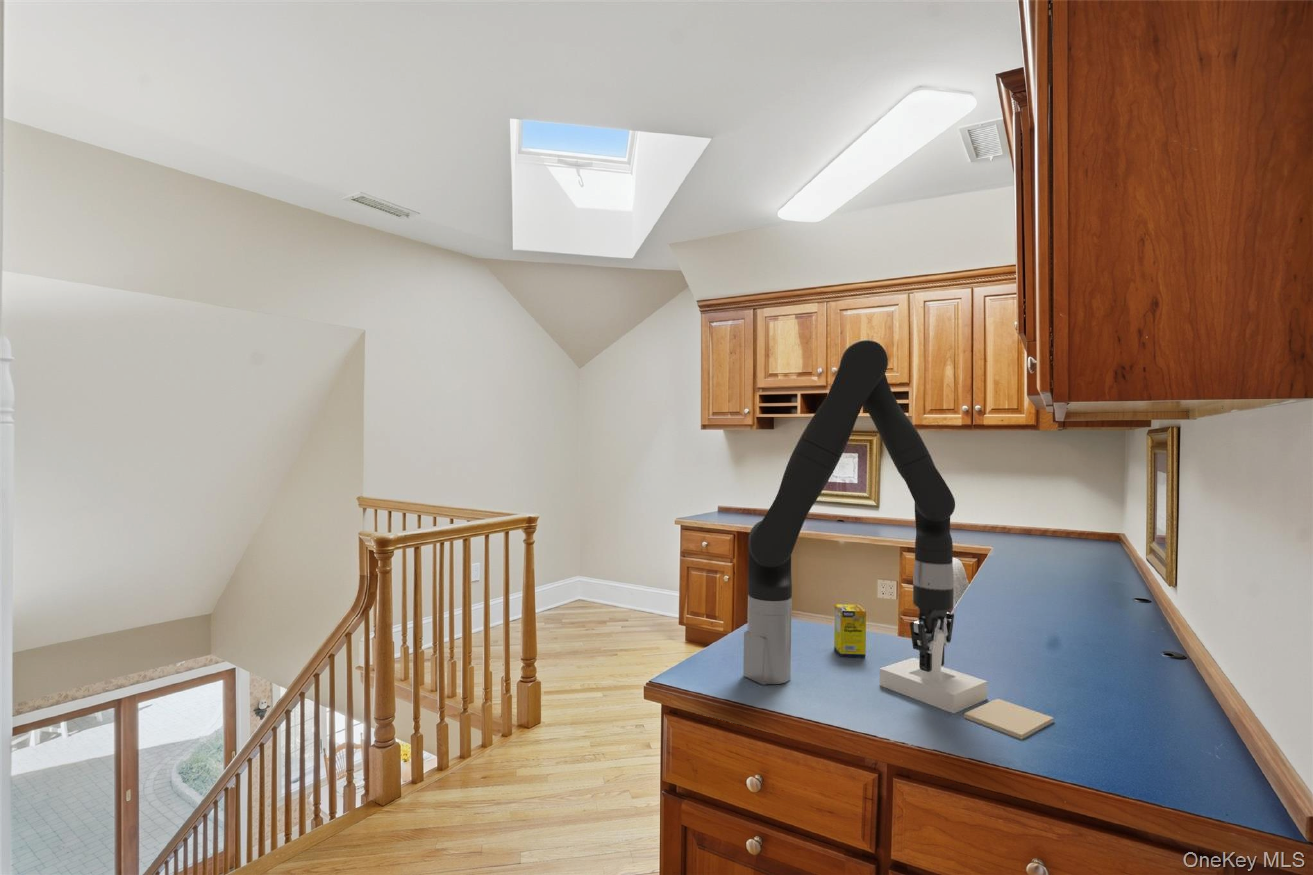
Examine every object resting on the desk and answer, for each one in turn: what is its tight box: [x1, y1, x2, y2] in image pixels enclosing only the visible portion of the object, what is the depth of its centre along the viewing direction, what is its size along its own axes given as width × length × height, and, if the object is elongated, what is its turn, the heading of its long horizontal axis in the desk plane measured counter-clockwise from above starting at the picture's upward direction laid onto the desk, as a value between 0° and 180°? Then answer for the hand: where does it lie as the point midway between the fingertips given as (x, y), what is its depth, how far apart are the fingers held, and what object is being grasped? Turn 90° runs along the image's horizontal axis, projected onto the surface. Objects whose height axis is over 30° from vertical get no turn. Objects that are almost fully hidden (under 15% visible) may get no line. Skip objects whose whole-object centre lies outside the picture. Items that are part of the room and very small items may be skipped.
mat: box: [963, 698, 1054, 740], centre depth 115 cm, size 12×10×1 cm
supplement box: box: [833, 603, 867, 658], centre depth 149 cm, size 6×6×11 cm
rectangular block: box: [879, 657, 988, 714], centre depth 127 cm, size 12×16×4 cm
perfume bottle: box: [922, 629, 944, 683], centre depth 127 cm, size 5×4×15 cm
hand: (931, 667), depth 127 cm, fingers closed on perfume bottle, 4 cm apart
